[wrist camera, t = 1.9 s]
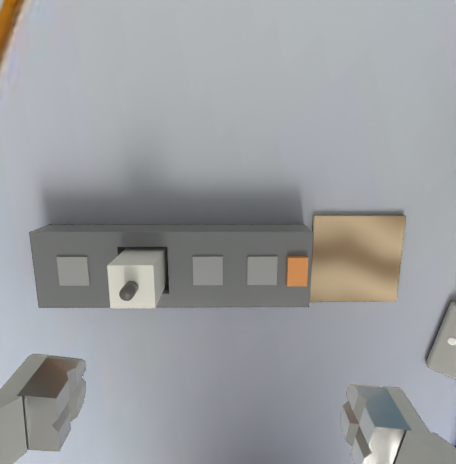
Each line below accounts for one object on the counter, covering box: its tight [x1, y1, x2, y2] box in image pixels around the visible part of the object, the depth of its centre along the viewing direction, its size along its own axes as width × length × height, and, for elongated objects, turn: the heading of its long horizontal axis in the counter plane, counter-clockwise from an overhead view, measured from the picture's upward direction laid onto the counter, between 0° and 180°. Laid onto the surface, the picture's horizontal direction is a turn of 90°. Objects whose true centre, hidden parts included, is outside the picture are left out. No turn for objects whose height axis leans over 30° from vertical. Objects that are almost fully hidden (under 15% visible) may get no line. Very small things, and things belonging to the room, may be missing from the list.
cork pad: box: [310, 215, 406, 302], centre depth 38 cm, size 10×10×1 cm
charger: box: [107, 247, 168, 308], centre depth 32 cm, size 4×4×9 cm
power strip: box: [29, 224, 313, 308], centre depth 36 cm, size 8×28×5 cm, turn 90°
